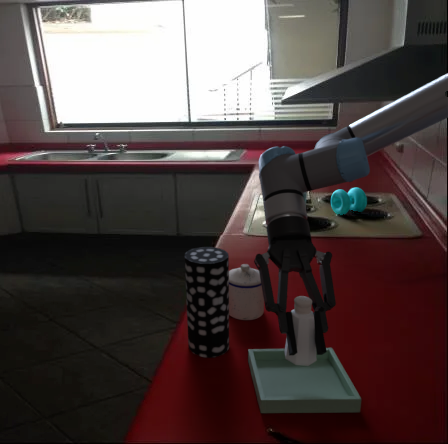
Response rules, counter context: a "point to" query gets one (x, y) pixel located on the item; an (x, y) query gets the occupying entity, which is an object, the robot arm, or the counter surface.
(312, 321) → the salt shaker
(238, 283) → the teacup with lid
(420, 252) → the counter surface
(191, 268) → the white-spotted black cylinder
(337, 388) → the tray
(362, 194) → the turquoise dumbbell
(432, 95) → the robot arm
